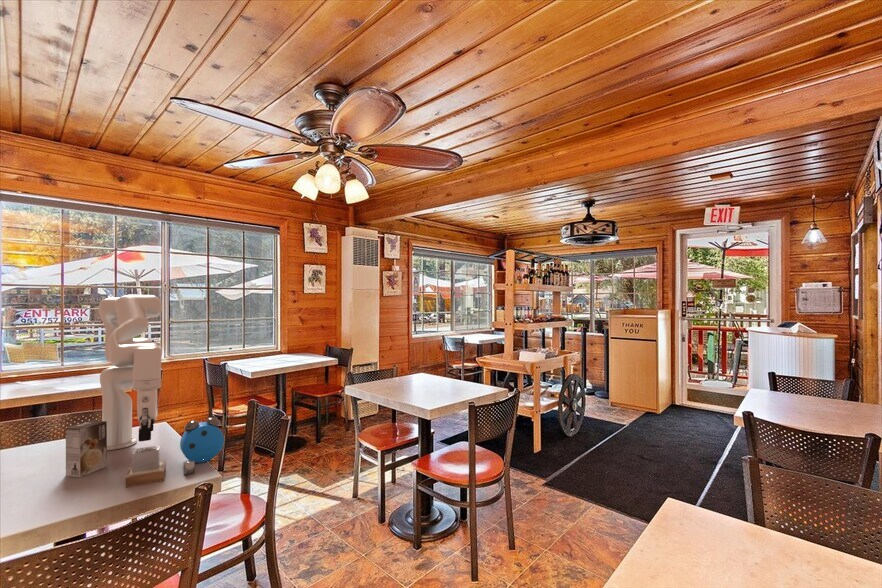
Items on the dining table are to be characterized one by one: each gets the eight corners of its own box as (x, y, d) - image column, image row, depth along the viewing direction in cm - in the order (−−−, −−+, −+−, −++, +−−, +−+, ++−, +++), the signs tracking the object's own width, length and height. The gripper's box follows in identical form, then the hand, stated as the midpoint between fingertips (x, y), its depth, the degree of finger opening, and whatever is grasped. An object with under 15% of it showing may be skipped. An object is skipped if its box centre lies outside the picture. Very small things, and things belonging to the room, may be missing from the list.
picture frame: (129, 475, 139) (129, 465, 139) (165, 469, 144) (165, 460, 144) (125, 487, 130) (125, 476, 130) (163, 480, 136) (163, 470, 136)
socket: (183, 473, 141) (183, 461, 141) (194, 471, 143) (194, 459, 143) (183, 476, 139) (183, 464, 139) (194, 474, 140) (194, 462, 140)
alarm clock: (219, 453, 159) (220, 414, 159) (224, 458, 154) (224, 417, 154) (179, 462, 150) (179, 420, 151) (182, 467, 146) (183, 424, 146)
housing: (133, 467, 138) (134, 448, 138) (159, 463, 141) (159, 444, 141) (131, 472, 134) (132, 453, 134) (158, 468, 137) (158, 449, 137)
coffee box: (92, 465, 148) (93, 419, 148) (107, 467, 147) (108, 420, 147) (64, 476, 139) (65, 427, 139) (80, 477, 138) (80, 428, 138)
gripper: (159, 388, 132) (158, 442, 132) (162, 377, 147) (161, 426, 147) (129, 390, 129) (128, 446, 129) (136, 379, 143) (135, 429, 144)
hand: (146, 435), depth 138 cm, fingers open, 9 cm apart
